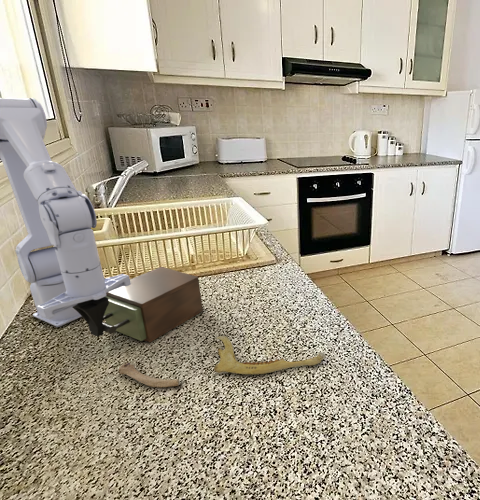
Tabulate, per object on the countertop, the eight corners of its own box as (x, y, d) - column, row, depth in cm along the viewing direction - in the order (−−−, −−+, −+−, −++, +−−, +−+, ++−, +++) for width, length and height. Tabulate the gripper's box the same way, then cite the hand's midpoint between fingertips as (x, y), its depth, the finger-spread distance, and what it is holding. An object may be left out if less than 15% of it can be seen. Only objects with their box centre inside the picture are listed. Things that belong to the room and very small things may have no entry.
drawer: (121, 353, 68) (113, 321, 66) (86, 337, 72) (77, 307, 70) (192, 311, 82) (188, 284, 80) (159, 300, 86) (155, 274, 84)
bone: (171, 394, 60) (169, 383, 59) (117, 377, 63) (114, 367, 63) (182, 383, 62) (180, 373, 62) (129, 368, 66) (127, 358, 65)
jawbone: (195, 374, 65) (193, 367, 65) (219, 341, 73) (218, 335, 72) (312, 394, 62) (312, 387, 61) (325, 358, 69) (325, 351, 69)
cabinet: (149, 342, 73) (141, 304, 70) (111, 327, 77) (102, 290, 74) (203, 311, 84) (198, 276, 81) (167, 299, 89) (161, 266, 86)
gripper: (47, 288, 56) (68, 362, 61) (135, 257, 69) (147, 320, 74) (21, 278, 59) (44, 350, 64) (111, 250, 72) (124, 312, 76)
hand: (98, 333), depth 69 cm, fingers closed, pressing on drawer
